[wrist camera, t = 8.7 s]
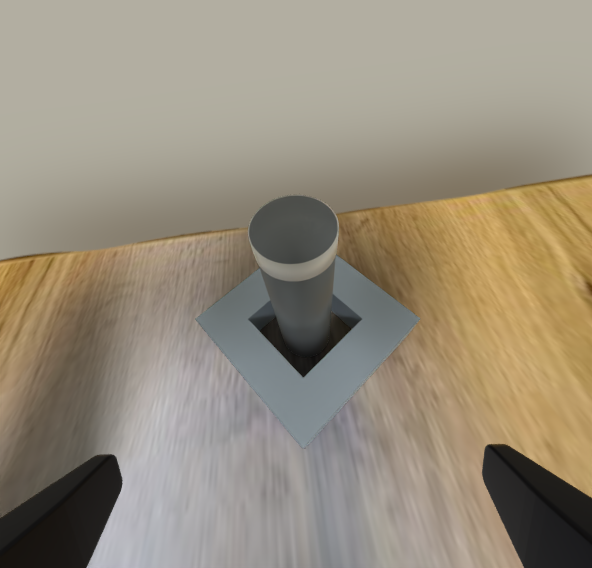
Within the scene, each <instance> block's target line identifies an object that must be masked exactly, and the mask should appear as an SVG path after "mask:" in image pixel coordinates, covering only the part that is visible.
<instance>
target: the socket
mask: <svg viewBox="0 0 592 568" xmlns="http://www.w3.org/2000/svg"><path fill="white" fill-rule="evenodd" d="M331 311H332V312H333V313H334V314H335V315H336V316H338V317H339V318H340V319H341V320H342V321H343V322H344V323H346V324H347V325H348V326H349V327H350V328H351V329H352V330H351V331H350V332H349V333H348V334H347V335H346V336H345V337H344V338H343V339H342V340H341V341H340V342H339V343H338V344H337V345H336V346H335V347H334V348H333V349H332V350H331V351H330V352H329V353H328V354H327V355H326V356H325V357H324V358H323V359H322V360H321V361H320V362H319V363H318V364H317V365H316V366H315V367H314V368H313V369H312V370H311V371H310V372H309V373H308V374H307V375H306V376H305V377H304V378H303V377H302V376H301V375H300V374H299V373H298V372H297V371H296V370H295V368H294V367H293V366H292V365H291V364H290V363H289V362H288V361H287V360H286V359H285V358H284V357H283V356H282V355H281V354H280V353H279V352H278V350H277V349H276V348H275V347H274V346H273V345H272V344H271V343H270V342H269V341H268V340H267V339H266V338H265V337H264V336H263V335H262V333H261V332H260V330H261V329H262V328H263V327H265V326H266V325H267V324H268V323H269V322H270V321H271V320H273V319H274V318H275V317H276V315H275V312H274V309H273V306H272V304H271V301H270V298H269V295H268V292H267V289H266V286H265V283H264V280H263V277H262V274H261V271H260V268H259V269H258V270H256V271H255V272H254V273H253V274H251V275H250V276H249V277H248V278H246V279H245V280H244V281H243V282H241V283H240V284H239V285H237V286H236V287H235V288H234V289H232V290H231V291H230V292H229V293H227V294H226V295H225V296H224V297H222V298H221V299H220V300H219V301H217V302H216V303H215V304H214V305H212V306H211V307H210V308H208V309H207V310H206V311H205V312H203V313H202V314H201V315H200V316H198V317H197V318H196V319H195V320H196V321H197V322H198V323H199V324H200V326H201V327H202V328H203V329H204V331H205V332H206V333H207V334H208V335H209V337H210V338H211V339H212V340H213V341H214V343H215V344H216V345H217V346H218V347H219V349H220V350H221V351H222V352H223V353H224V355H225V356H226V357H227V358H228V360H229V361H230V362H231V363H232V364H233V366H234V367H235V368H236V369H237V370H238V372H239V373H240V374H241V375H242V376H243V378H244V379H245V380H246V381H247V382H248V384H249V385H250V386H251V387H252V388H253V390H254V391H255V392H256V393H257V395H258V396H259V397H260V398H261V399H262V401H263V402H264V403H265V404H266V405H267V407H268V408H269V409H270V410H271V411H272V413H273V414H274V415H275V416H276V417H277V419H278V420H279V421H280V422H281V424H282V425H283V426H284V427H285V428H286V430H287V431H288V432H289V433H290V434H291V436H292V437H293V438H294V439H295V440H296V442H297V443H298V444H299V445H300V446H301V448H302V449H305V448H306V447H307V446H308V445H309V444H310V443H311V441H312V440H313V439H314V438H315V437H316V436H317V435H318V434H319V433H320V431H321V430H322V429H323V428H324V427H325V426H326V425H327V424H328V423H329V422H330V420H331V419H332V418H333V417H334V416H335V415H336V414H337V413H338V412H339V410H340V409H341V408H342V407H343V406H344V405H345V404H346V403H347V402H348V401H349V399H350V398H351V397H352V396H353V395H354V394H355V393H356V392H357V391H358V390H359V388H360V387H361V386H362V385H363V384H364V383H365V382H366V381H367V380H368V378H369V377H370V376H371V375H372V374H373V373H374V372H375V371H376V370H377V369H378V367H379V366H380V365H381V364H382V363H383V362H384V361H385V360H386V359H387V357H388V356H389V355H390V354H391V353H392V352H393V351H394V350H395V349H396V348H397V346H398V345H399V344H400V343H401V342H402V341H403V340H404V339H405V338H406V336H407V335H408V334H409V333H410V332H411V330H412V329H413V328H414V326H415V325H416V324H417V322H418V321H419V320H420V318H419V317H418V316H416V315H415V314H414V313H412V312H411V311H410V310H408V309H407V308H406V307H405V306H403V305H402V304H401V303H399V302H398V301H397V300H395V299H394V298H393V297H391V296H390V295H389V294H387V293H386V292H385V291H383V290H382V289H381V288H380V287H378V286H377V285H376V284H374V283H373V282H372V281H370V280H369V279H368V278H366V277H365V276H364V275H362V274H361V273H360V272H358V271H357V270H356V269H355V268H353V267H352V266H351V265H349V264H348V263H347V262H345V261H344V260H343V259H341V258H340V257H339V256H337V255H336V257H335V270H334V283H333V296H332V309H331Z"/></svg>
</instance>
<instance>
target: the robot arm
mask: <svg viewBox="0 0 592 568" xmlns="http://www.w3.org/2000/svg"><path fill="white" fill-rule="evenodd" d="M482 476H483V480H484V483H485V485H486V488H487V490H488V492H489V494H490V496H491V498H492V500H493V503H494V505H495V507H496V509H497V511H498V513H499V516H500V518H501V520H502V522H503V524H504V526H505V528H506V531H507V533H508V535H509V537H510V539H511V541H512V544H513V546H514V548H515V550H516V552H517V554H518V556H519V558H520V560H521V562H522V564H523V566H524V568H592V498H591V497H589V496H588V495H586V494H584V493H583V492H581V491H580V490H578V489H577V488H575V487H573V486H572V485H570V484H569V483H567V482H565V481H564V480H562V479H561V478H559V477H557V476H556V475H554V474H553V473H551V472H550V471H548V470H546V469H545V468H543V467H542V466H540V465H538V464H537V463H535V462H534V461H532V460H530V459H529V458H527V457H526V456H524V455H523V454H521V453H519V452H518V451H516V450H515V449H513V448H511V447H510V446H508V445H506V444H489V445H487V446H486V447H485V451H484V460H483V469H482ZM121 488H122V476H121V472H120V469H119V465H118V462H117V458H116V457H115V456H114V455H112V454H103V455H96V456H94V457H93V458H91V459H90V460H88V461H87V462H85V463H84V464H82V465H80V466H79V467H77V468H76V469H74V470H73V471H71V472H70V473H68V474H67V475H65V476H64V477H62V478H61V479H59V480H58V481H56V482H55V483H53V484H52V485H50V486H49V487H47V488H46V489H44V490H42V491H41V492H39V493H38V494H36V495H35V496H33V497H32V498H30V499H29V500H27V501H26V502H24V503H23V504H21V505H20V506H18V507H17V508H15V509H14V510H12V511H11V512H9V513H7V514H6V515H4V516H3V517H1V518H0V568H86V567H87V565H88V563H89V561H90V559H91V557H92V555H93V552H94V550H95V548H96V546H97V543H98V541H99V539H100V537H101V534H102V532H103V530H104V528H105V525H106V523H107V521H108V519H109V516H110V514H111V512H112V510H113V507H114V505H115V503H116V501H117V498H118V496H119V494H120V491H121Z"/></svg>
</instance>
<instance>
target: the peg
mask: <svg viewBox="0 0 592 568" xmlns="http://www.w3.org/2000/svg"><path fill="white" fill-rule="evenodd" d="M338 235H339V222H338V219H337V216H336V214H335V213H334V211H333V210H332V209H331V208H330V206H328V205H327V204H326V203H324V202H323V201H321V200H319V199H317V198H314V197H310V196H306V195H287V196H282V197H278V198H276V199H273V200H271V201H269V202H267V203H266V204H264V205H263V206H262V207H260V208H259V209H258V210H257V211H256V213H255V214H254V215H253V217H252V218H251V221H250V223H249V227H248V238H249V242H250V245H251V248H252V251H253V253H254V256H255V259H256V261H257V263H258V265H259V268H260V271H261V274H262V277H263V280H264V283H265V286H266V289H267V292H268V295H269V298H270V301H271V304H272V306H273V309H274V312H275V315H276V318H277V321H278V324H279V327H280V330H281V333H282V336H283V339H284V342H285V345H286V346H287V348H288V349H289V350H290V351H291V352H292V353H293V354H295V355H297V356H301V357H312V356H315V355H317V354H319V353H320V352H322V351H323V350H324V349H325V347H326V346H327V344H328V341H329V335H330V322H331V309H332V296H333V283H334V270H335V257H336V253H337V247H338Z"/></svg>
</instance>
